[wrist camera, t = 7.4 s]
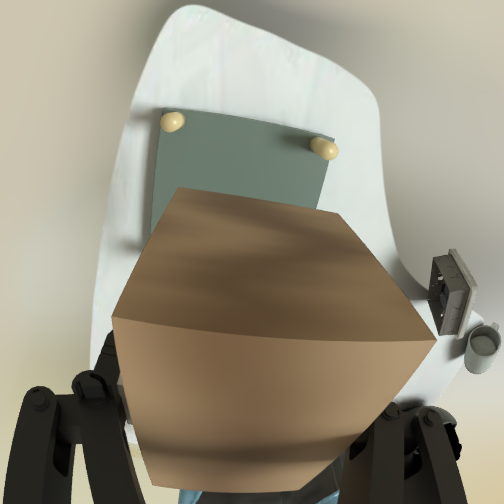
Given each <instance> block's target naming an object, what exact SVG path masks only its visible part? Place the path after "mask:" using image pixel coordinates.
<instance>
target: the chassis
mask: <svg viewBox="0 0 504 504" xmlns="http://www.w3.org/2000/svg"><path fill="white" fill-rule="evenodd" d="M334 140H335V139H333V138H331V137H328V136H324V135H320V134H316V133H312V132H308V131H304V130H300V129H296V128H291V127H287V126H282V125H278V124H273V123H268V122H263V121H258V120H253V119H247V118H241V117H235V116H229V115H223V114H216V113H209V112H201V111H193V110H184V109H174V108H163V112H162V118H161V120H160V133H159V141H158V149H157V157H156V167H155V177H154V188H153V200H152V215H151V233H150V236H151V234H152V232H153V231H154V229H155V227H156V225H157V223H158V221H159V220H160V218H161V216H162V214H163V212H164V211H165V209H166V207H167V205H168V204H169V202H170V200H171V198H172V197H173V195H174V193H175V192H176V190H177V188H178V187H181V188H189V189H196V190H204V191H211V192H217V193H224V194H231V195H237V196H244V197H250V198H256V199H262V200H268V201H274V202H279V203H285V204H291V205H296V206H302V207H307V208H312V209H316V207H317V204H318V200H319V197H320V193H321V189H322V186H323V182H324V178H325V174H326V171H327V167H328V163H329V160H333V159H334V158H336V156H337V155H338V147H337V146H336V144H335V143H334Z"/></svg>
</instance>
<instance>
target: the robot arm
mask: <svg viewBox="0 0 504 504" xmlns="http://www.w3.org/2000/svg"><path fill="white" fill-rule="evenodd" d="M72 390H73V392H74V394H69V395H55V394H54V393H53V392H52V391H51V390H50V389H49V388H47V387H44V386H36V387H33V388H31V389H30V390H29V391H27V393H26V395H25V396H24V399H23V402H22V406H21V409H20V413H19V417H18V420H17V424H16V428H15V432H14V437H13V441H12V446H11V451H10V456H9V461H8V467H7V473H6V481H5V487H4V496H3V504H71V491H72V476H73V465H74V455H75V447H76V444H82V446H83V453H84V458H85V464H86V470H87V475H88V480H89V484H90V489H91V493H92V498H93V501H94V504H146V503H145V500H144V497H143V494H142V492H141V488H140V485H139V482H138V478H137V476H136V472H135V468H134V465H133V461H132V457H131V453H130V449H129V445H128V441H127V437H126V432H125V430H124V426H125V422H126V420H127V423H128V424H131V425H133V423H132V420H131V416H130V412H129V408H128V404H127V400H126V396H125V391H124V387H123V382H122V377H121V372H120V367H119V362H118V357H117V351H116V345H115V339H114V332H113V330H112V331H111V332H110V333H109V334H108V335H107V337H106V340H105V342H104V346H103V347H102V350H101V354H100V355H99V357H98V360H97V363H96V365H95V368H94V370H88V371H84V372H81V373H79V374H78V375H76V377H75V378H74V380H73V382H72ZM417 448H419V452H420V453H418V452H417V450H416V449H417ZM178 504H468V503H467V500H466V495H465V491H464V487H463V484H462V480H461V476H460V473H459V470H458V467H457V463H456V460H455V457H454V453H453V450H452V447H451V444H450V441H449V438H448V435H447V433H446V430H445V427H444V424H443V421H442V419H441V417H440V415H439V413H438V412H437V411H436V410H434V409H432V408H429V407H425V408H422V409H421V410H420V411H419V412H418V413H417V414H416V413H409V412H403V411H401V409H400V408H399V406H398V405H396V404H395V403H394V402H390V403H389V404H388V406H387V407H386V408H385V409H384V410H383V411H382V412H381V414H380V415H379V416H378V417H377V418H376V419H375V420H374V421H373V422H372V423H371V425H370V426H369V427H368V428H367V429H366V430H365V431H364V432H363V433H362V434H361V435H360V436H359V437H358V438H357V439H356V440H355V441H354V442H353V443H352V444H351V445H350V446H349V447H348V448H347V449H346V450H345V451H344V452H343V453H342V454H340V455H339V456H338V457H337V458H336V459H335V460H334V461H333V462H332V463H331V464H329V465H328V466H327V467H326V468H325V469H324V470H323V471H321V472H320V473H319V474H318V475H317V476H315V477H314V478H313V479H312V480H311V481H309V482H308V483H307V484H306V485H304V486H303V487H302V488H301V489H299V490H293V491H281V492H260V493H227V492H206V491H193V490H183V489H180V493H179V501H178Z"/></svg>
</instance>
